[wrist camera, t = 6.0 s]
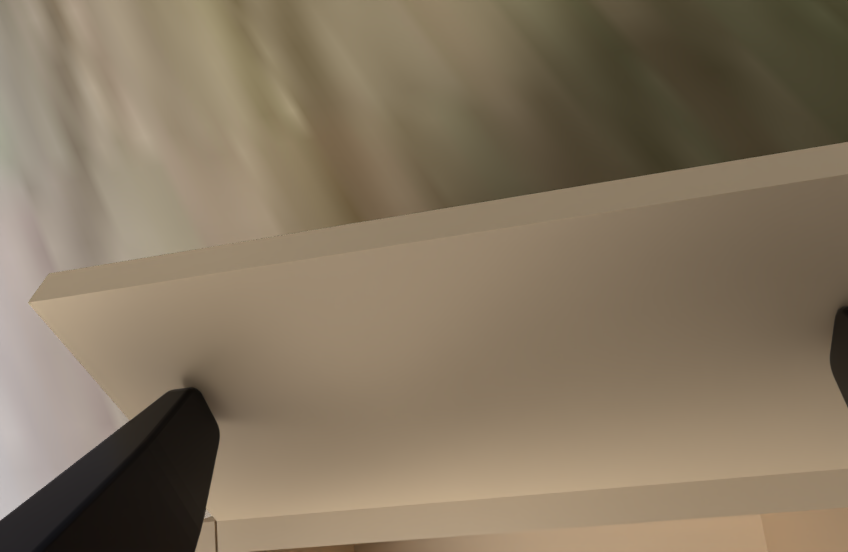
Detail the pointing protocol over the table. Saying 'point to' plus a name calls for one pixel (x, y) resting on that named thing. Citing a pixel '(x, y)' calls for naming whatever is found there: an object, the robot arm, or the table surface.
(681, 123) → the table surface
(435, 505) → the carton
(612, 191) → the carton flap
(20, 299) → the table surface
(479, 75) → the table surface
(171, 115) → the table surface
